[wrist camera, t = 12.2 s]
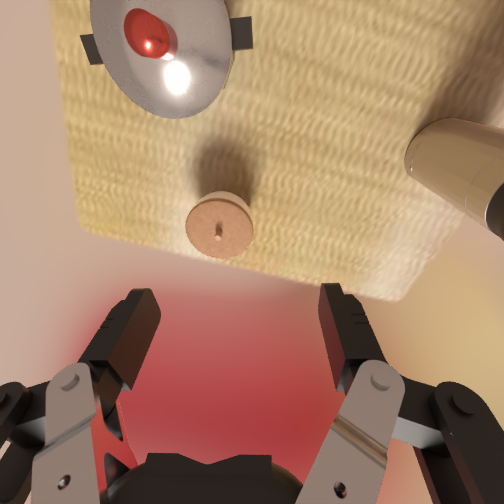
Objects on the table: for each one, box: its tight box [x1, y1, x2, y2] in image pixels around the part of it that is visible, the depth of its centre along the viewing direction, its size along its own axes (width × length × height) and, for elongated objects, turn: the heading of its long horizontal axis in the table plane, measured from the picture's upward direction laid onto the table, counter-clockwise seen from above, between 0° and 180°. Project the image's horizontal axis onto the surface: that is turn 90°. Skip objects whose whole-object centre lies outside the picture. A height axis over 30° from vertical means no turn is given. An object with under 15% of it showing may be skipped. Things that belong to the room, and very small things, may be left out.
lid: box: [90, 0, 232, 119], centre depth 23 cm, size 14×14×7 cm
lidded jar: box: [186, 191, 253, 259], centre depth 41 cm, size 11×11×9 cm
